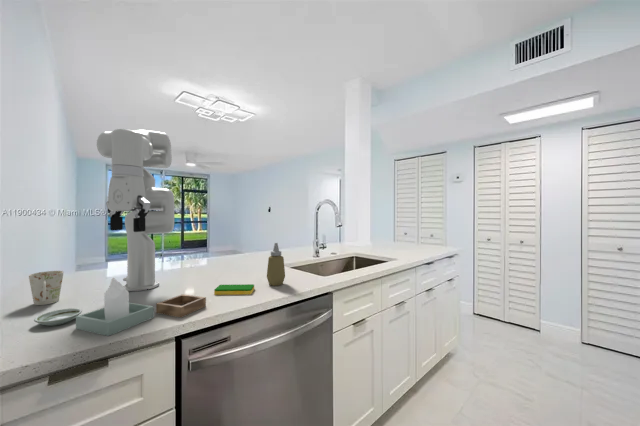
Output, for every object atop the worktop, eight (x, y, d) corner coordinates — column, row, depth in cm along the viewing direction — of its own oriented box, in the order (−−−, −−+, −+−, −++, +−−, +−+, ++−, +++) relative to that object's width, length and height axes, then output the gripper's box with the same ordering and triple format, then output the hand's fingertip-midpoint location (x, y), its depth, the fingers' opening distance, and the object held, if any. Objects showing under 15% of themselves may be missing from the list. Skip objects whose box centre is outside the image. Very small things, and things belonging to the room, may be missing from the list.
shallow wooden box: (156, 313, 83) (156, 303, 83) (182, 302, 92) (182, 294, 92) (181, 317, 80) (181, 307, 80) (205, 306, 89) (205, 297, 89)
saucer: (25, 332, 70) (25, 323, 70) (45, 318, 78) (45, 310, 78) (73, 326, 73) (73, 317, 73) (87, 314, 82) (87, 306, 82)
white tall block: (133, 276, 77) (112, 280, 72) (134, 317, 77) (113, 325, 72) (120, 274, 79) (98, 278, 74) (120, 314, 79) (99, 321, 74)
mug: (63, 296, 98) (63, 269, 98) (63, 305, 89) (63, 275, 89) (29, 302, 92) (29, 273, 92) (26, 312, 83) (26, 279, 83)
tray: (75, 328, 72) (75, 316, 72) (123, 312, 84) (123, 301, 84) (108, 335, 68) (108, 322, 68) (153, 317, 79) (153, 306, 79)
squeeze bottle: (283, 287, 112) (284, 244, 112) (264, 286, 112) (264, 244, 112) (286, 282, 120) (286, 242, 120) (268, 281, 121) (268, 241, 120)
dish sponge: (250, 295, 102) (250, 289, 102) (213, 295, 101) (214, 289, 101) (254, 290, 109) (254, 284, 109) (219, 290, 109) (219, 284, 109)
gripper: (94, 172, 78) (94, 230, 79) (135, 170, 73) (135, 233, 73) (120, 175, 86) (120, 228, 86) (160, 173, 80) (160, 231, 80)
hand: (127, 230), depth 80 cm, fingers open, 9 cm apart
